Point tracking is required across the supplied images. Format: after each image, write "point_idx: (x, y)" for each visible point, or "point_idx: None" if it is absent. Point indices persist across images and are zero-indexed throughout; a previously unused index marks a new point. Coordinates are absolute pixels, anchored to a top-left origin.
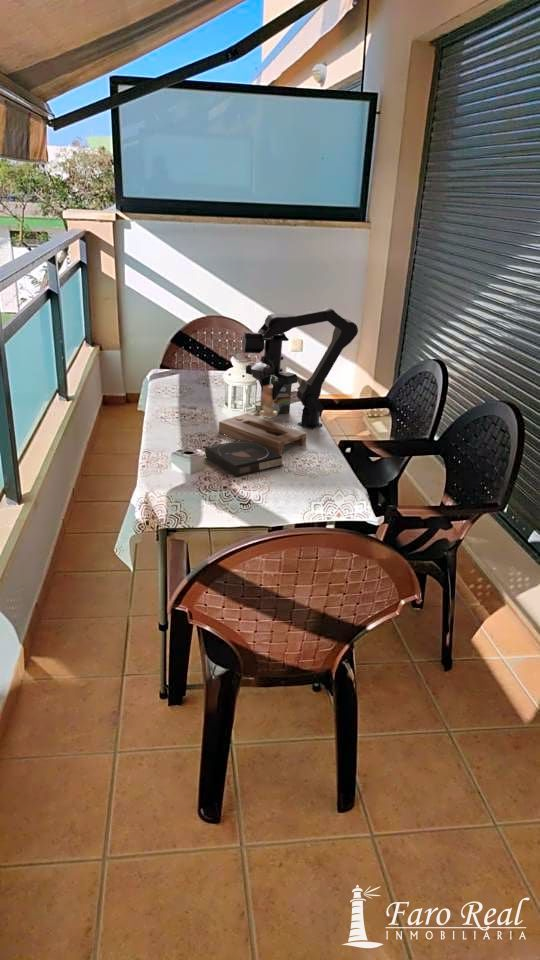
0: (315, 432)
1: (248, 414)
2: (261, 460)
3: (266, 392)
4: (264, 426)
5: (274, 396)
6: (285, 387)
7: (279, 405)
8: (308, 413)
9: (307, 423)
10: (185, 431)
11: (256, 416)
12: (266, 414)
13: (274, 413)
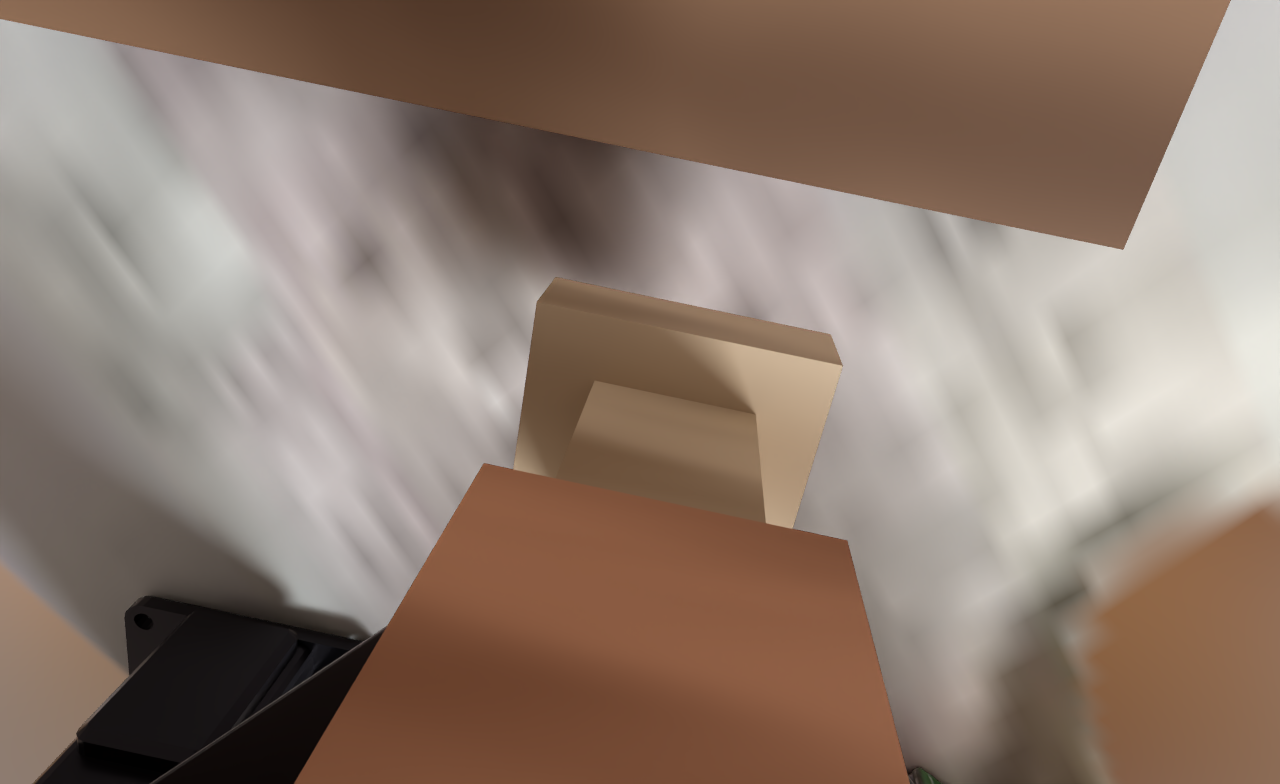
0: (36, 518)
1: (1060, 181)
2: None
3: (643, 757)
4: None
5: (298, 694)
6: None
7: None
8: (73, 773)
9: (167, 637)
10: None
11: (828, 177)
12: (626, 311)
13: (516, 461)
